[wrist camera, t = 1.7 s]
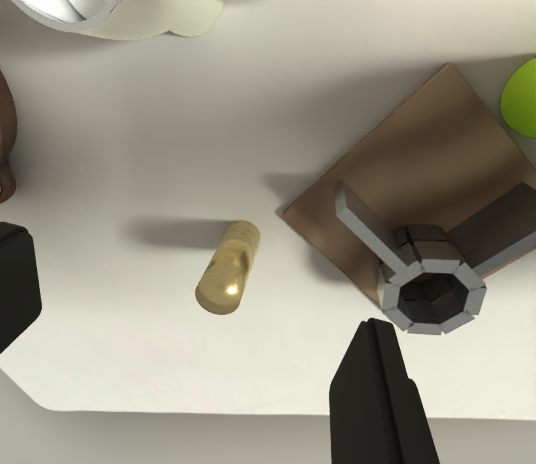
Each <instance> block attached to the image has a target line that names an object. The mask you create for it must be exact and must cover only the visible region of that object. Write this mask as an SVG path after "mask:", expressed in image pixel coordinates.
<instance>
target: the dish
mask: <svg viewBox="0 0 536 464" xmlns="http://www.w3.org/2000/svg"><path fill="white" fill-rule="evenodd" d="M16 134H17V117H16V110H15V106H14V102H13V98H12V95H11V92H10V90H9V87H8V85H7V82H6V80H5V78H4V76H3V74H2V72H1V70H0V185H1V192H0V204H1V203H3V202H5V201H6V200H8V199H9V198H10V197H11V196H12V195H13V194H14V192H15V190H16V183H15V179H14V176H13V174H12V171H11V169H10V167H9V163H8V155H9V153H10V151H11V149H12V147H13V145H14V143H15V139H16Z"/></svg>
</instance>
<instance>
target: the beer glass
mask: <svg viewBox="0 0 536 464" xmlns="http://www.w3.org/2000/svg"><path fill="white" fill-rule="evenodd" d="M11 1H12V2H13V3H14V4H15V5H16V6H17V7H18V8H19V9H20V10H21V11H23V12H24V13H25V14H26V15H28V16H29V17H31V18H32V19H34V20H35V21H37V22H39V23H40V24H42V25H45V26H47V27H49V28H52V29H55V30H59V31H64V32H75V33H79V34H83V35H88V36H93V37H98V38H105V39H114V40H140V39H145V38H149V37H153V36H157V35H160V34H162V33H164V32H167V31H171V32H173V33H175V34H177V35H181V36H186V37H193V36H198V35H201V34H203V33H205V32H206V31H208V30H209V29H210V28H211V27H212V26H213V25H214V24H215V23H216V21H217V20H218V18H219V16H220V14H221V11H222V8H223V3H224V0H11Z"/></svg>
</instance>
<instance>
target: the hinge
mask: <svg viewBox="0 0 536 464" xmlns="http://www.w3.org/2000/svg"><path fill="white" fill-rule="evenodd" d="M334 194H335V205H336V216H337V217H338V218H339V219H340V220H341V221H342V222H343V223H344V224H345V225H346V226H347V227H349V228H350V229H351V230H352V231H353V232H354V233H355V234H356V235H357V236H358V237H359V238H360V239H361V240H362V241H363V242H364V243H365V244H366V245H367V246H368V247H369V248H370V249H371V250H372V251H373V252H374V260H373V268H372V270H373V275H374V279H375V283H376V287H377V292H378V296H379V301H380V305H381V309H382V311H383V314H384V315H386V316H387V317H388V318H389V319H390V320H391V321H392V322H393V323H394V324H396V325H397V326H398V327H399V328H400V329H401V330H402V331H405V330H407V333H413V334H428V335H441V331H443V332H444V333H445V334H447V333H449V332H451V331H453V330H455V329H456V328H458V327H460V326H462V325H464V324H466V323H468V322H470V321H471V320H473V319H475V318H474V316H473V315H478V314H479V311H480V308H481V305H482V302H483V299H484V296H485V293H486V290H487V288H486V286H485V285H486V284H485V282H484V281H483V279H482V278H481V276H483V275H485V274H486V273H488V272H490V271H491V270H493V269H495V268H497V267H498V266H500V265H502V264H503V263H505V262H507V261H509V260H510V259H512V258H514V257H515V256H517V255H519V254H521V253H522V252H524V251H526V250H527V249H529V248H531V247H533V246H534V245H536V190H535V189H534V188H532V187H531V186H529V185H528V184H526V183H525V182H523V181H522V182H521V183H519V184H518V185H516V186H515V187H513V188H512V189H510V190H509V191H507V192H506V193H504V194H503V195H501V196H500V197H498V198H497V199H495V200H494V201H492V202H491V203H490V204H488V205H487V206H485V207H484V208H482V209H481V210H479V211H478V212H476V213H475V214H473V215H472V216H470V217H469V218H467V219H466V220H464V221H463V222H461V223H460V224H458V225H457V226H455V227H454V228H452V229H451V230H449V231H448V232H446V231H445V230H444V229H443V228H442V227H438V226H437V225H428V224H406V225H405V229H404V228H403V227H402V226H399V227H398V228H397V229H395V230H394V231H393V230H392V229H391V228H390V227H389V226H388V225H387V224H386V223H385V222H384V221H383V220H382V219H381V218H380V217H379V216H378V215H377V214H376V213H375V212H374V211H373V210H372V209H371V208H370V207H369V206H368V205H367V204H366V203H365V202H364V201H363V200H362V199H361V198H360V197H359V196H358V195H357V194H356V193H355V192H354V191H353V190H352V189H351V188H350V187H349V186H348V185H347V184H346V183H345V182H344V181H343V180H342V181H341V182H339V183H338V184H337V185H336V186H335V187H334ZM423 272H431V273H435V274H434V275H432V276H431V277H429V278H427V279H426V280H424V281H423V282H409V281H410V280H412V279H414V278H415V277H417V276H418V275H420V274H421V273H423Z"/></svg>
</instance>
